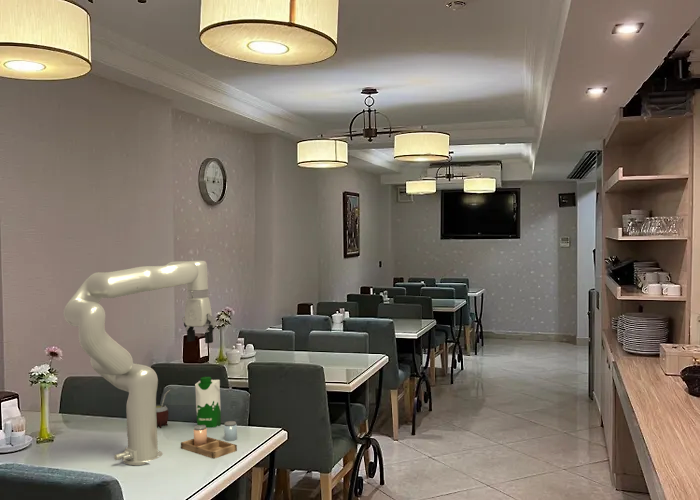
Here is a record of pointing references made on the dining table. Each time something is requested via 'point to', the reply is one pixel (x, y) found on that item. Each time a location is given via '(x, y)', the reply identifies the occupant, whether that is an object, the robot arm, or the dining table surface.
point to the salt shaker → (230, 431)
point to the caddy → (210, 448)
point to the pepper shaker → (200, 435)
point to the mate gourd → (162, 414)
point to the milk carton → (208, 402)
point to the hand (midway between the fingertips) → (200, 342)
